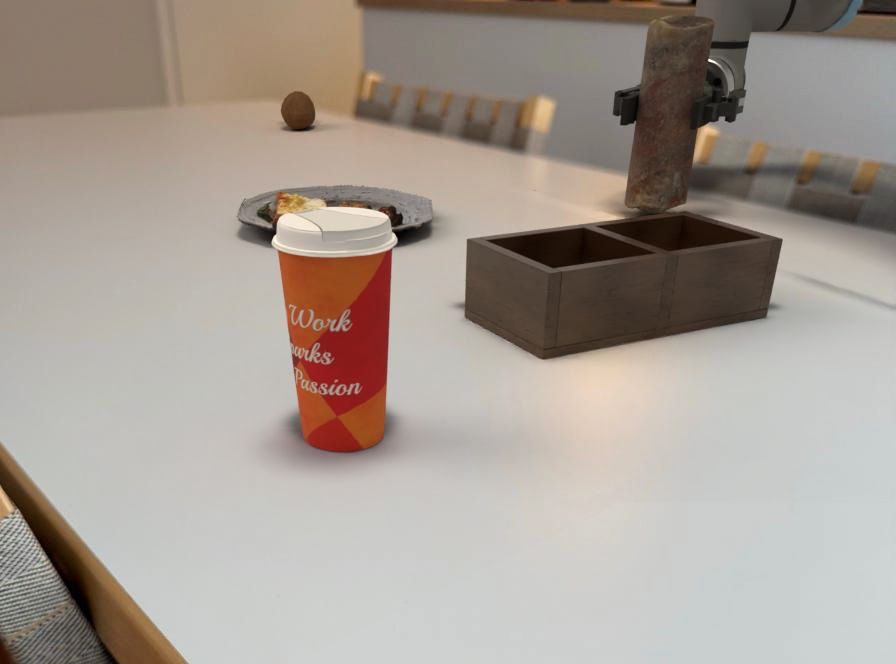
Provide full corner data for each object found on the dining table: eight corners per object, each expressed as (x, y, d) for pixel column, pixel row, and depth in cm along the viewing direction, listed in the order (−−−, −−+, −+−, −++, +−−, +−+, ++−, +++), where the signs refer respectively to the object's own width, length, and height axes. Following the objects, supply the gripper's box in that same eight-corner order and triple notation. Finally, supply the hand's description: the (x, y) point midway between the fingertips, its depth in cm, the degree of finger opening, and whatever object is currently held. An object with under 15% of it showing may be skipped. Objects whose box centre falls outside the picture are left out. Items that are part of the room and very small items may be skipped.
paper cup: (265, 433, 66) (244, 216, 58) (352, 405, 70) (344, 199, 62) (334, 470, 61) (322, 240, 53) (423, 437, 66) (424, 219, 57)
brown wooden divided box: (674, 282, 97) (685, 210, 93) (766, 317, 88) (783, 238, 84) (464, 316, 88) (466, 238, 84) (542, 359, 78) (549, 273, 74)
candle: (696, 209, 118) (724, 15, 106) (673, 220, 113) (700, 18, 101) (638, 202, 121) (660, 14, 110) (613, 212, 116) (633, 17, 105)
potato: (280, 132, 181) (277, 94, 177) (283, 125, 189) (280, 88, 185) (315, 132, 181) (313, 94, 178) (316, 124, 189) (314, 88, 186)
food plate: (435, 252, 107) (435, 218, 105) (227, 252, 107) (223, 218, 105) (430, 205, 127) (430, 176, 125) (255, 205, 127) (253, 176, 125)
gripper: (772, 130, 123) (744, 156, 106) (619, 121, 130) (569, 145, 113) (785, 62, 119) (758, 78, 102) (626, 57, 125) (575, 71, 108)
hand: (659, 113), depth 107 cm, fingers closed on candle, 7 cm apart
